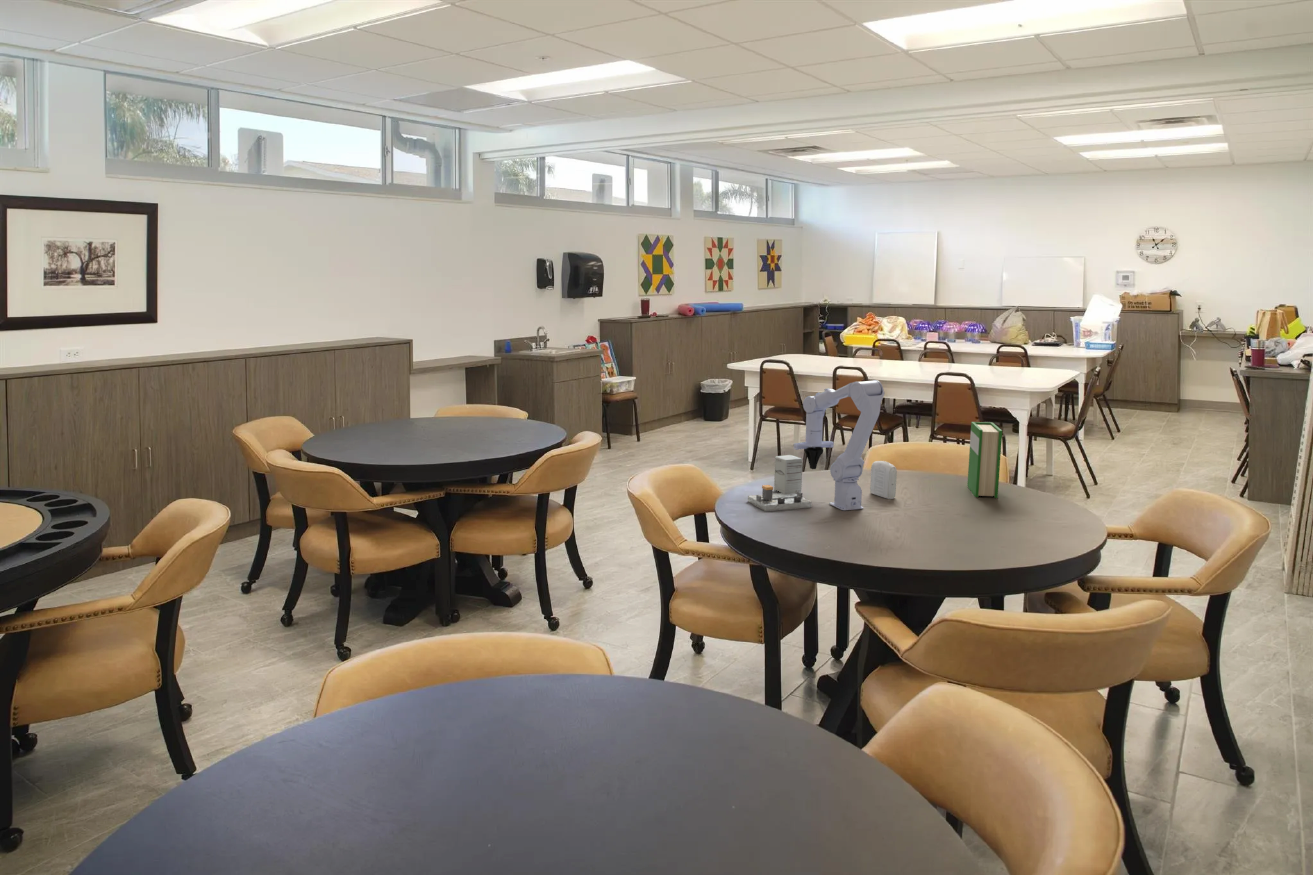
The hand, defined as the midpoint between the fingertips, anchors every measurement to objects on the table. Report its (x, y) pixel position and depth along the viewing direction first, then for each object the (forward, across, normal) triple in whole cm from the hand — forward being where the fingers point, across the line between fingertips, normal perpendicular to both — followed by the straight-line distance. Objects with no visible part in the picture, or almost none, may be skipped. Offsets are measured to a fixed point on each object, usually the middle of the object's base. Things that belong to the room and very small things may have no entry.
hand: (812, 468), depth 326 cm
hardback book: (+10, -61, +13) cm, 63 cm away
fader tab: (+8, +20, +7) cm, 23 cm away
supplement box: (+10, +5, -9) cm, 14 cm away
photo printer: (+10, -24, +7) cm, 27 cm away
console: (+10, +16, +7) cm, 20 cm away
